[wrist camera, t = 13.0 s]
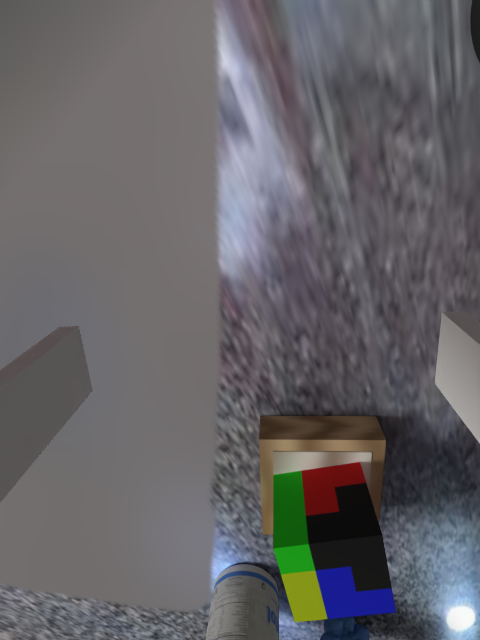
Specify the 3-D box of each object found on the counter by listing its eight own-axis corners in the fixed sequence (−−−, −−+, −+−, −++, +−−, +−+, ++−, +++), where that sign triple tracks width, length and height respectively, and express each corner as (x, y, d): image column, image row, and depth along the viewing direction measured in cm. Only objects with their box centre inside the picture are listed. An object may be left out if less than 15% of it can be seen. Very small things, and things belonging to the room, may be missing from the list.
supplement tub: (288, 599, 62) (292, 722, 48) (230, 613, 64) (219, 735, 50) (262, 553, 59) (259, 670, 45) (203, 569, 61) (183, 685, 47)
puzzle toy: (372, 529, 50) (395, 612, 40) (290, 539, 51) (294, 622, 42) (360, 461, 47) (382, 534, 37) (273, 474, 48) (273, 548, 39)
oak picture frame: (375, 416, 50) (386, 441, 46) (369, 507, 55) (378, 538, 50) (260, 415, 51) (259, 440, 47) (263, 504, 56) (262, 535, 51)
